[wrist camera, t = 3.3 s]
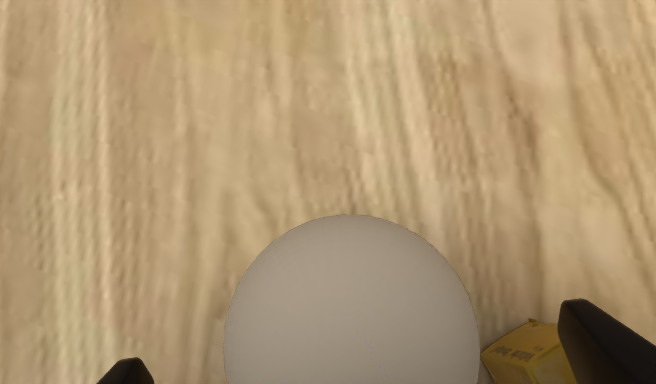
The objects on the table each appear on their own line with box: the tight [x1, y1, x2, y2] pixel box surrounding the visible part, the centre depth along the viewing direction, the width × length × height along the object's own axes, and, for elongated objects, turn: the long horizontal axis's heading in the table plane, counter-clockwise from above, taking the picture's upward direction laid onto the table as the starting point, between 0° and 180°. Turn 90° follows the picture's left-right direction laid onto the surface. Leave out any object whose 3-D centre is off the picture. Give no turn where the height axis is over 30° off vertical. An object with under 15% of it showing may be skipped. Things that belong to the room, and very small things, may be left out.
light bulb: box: [223, 215, 480, 384], centre depth 13 cm, size 6×6×10 cm
